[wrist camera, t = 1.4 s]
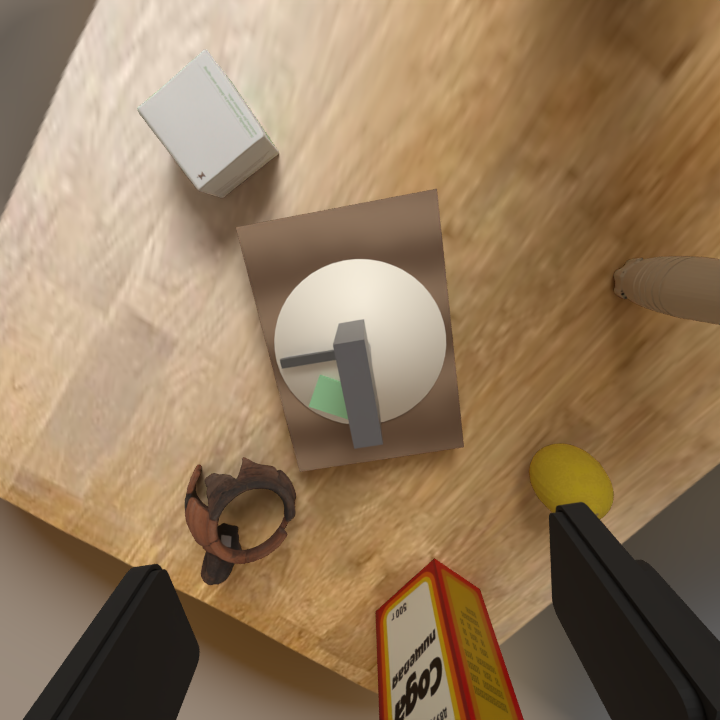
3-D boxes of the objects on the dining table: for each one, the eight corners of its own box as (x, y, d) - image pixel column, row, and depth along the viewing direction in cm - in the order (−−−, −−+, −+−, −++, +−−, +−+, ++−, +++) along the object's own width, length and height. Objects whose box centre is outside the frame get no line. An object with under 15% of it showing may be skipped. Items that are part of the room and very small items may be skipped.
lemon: (512, 480, 36) (552, 545, 28) (519, 427, 34) (564, 482, 26) (570, 480, 36) (627, 545, 28) (581, 427, 34) (644, 482, 26)
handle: (626, 328, 31) (849, 403, 17) (581, 271, 30) (782, 301, 16) (678, 286, 30) (963, 329, 16) (634, 226, 29) (902, 213, 14)
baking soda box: (434, 558, 39) (481, 765, 24) (479, 589, 40) (552, 804, 25) (375, 611, 41) (383, 831, 26) (420, 639, 42) (453, 864, 27)
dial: (255, 276, 27) (254, 277, 27) (435, 243, 26) (436, 243, 26) (296, 434, 31) (295, 437, 31) (453, 410, 30) (455, 412, 30)
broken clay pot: (193, 432, 35) (205, 469, 28) (287, 440, 40) (318, 473, 33) (164, 554, 36) (169, 620, 29) (261, 547, 40) (286, 602, 33)
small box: (282, 153, 28) (266, 136, 23) (222, 201, 29) (195, 194, 24) (231, 77, 26) (203, 42, 21) (171, 130, 27) (131, 108, 22)
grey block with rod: (272, 323, 28) (232, 361, 19) (363, 307, 27) (364, 339, 19) (291, 397, 29) (262, 462, 21) (377, 383, 29) (383, 444, 21)
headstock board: (248, 228, 29) (235, 227, 26) (429, 193, 28) (436, 188, 25) (304, 452, 35) (299, 471, 32) (455, 429, 34) (463, 447, 31)
